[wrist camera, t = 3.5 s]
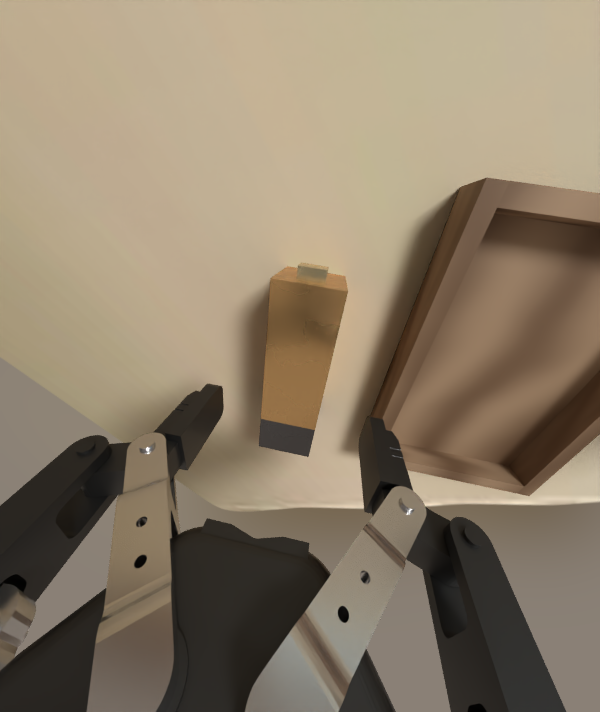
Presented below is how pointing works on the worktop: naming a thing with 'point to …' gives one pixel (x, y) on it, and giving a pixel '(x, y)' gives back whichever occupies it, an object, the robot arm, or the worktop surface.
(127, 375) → the worktop surface
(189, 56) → the worktop surface
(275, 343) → the battery cell
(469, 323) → the brown wooden tray
